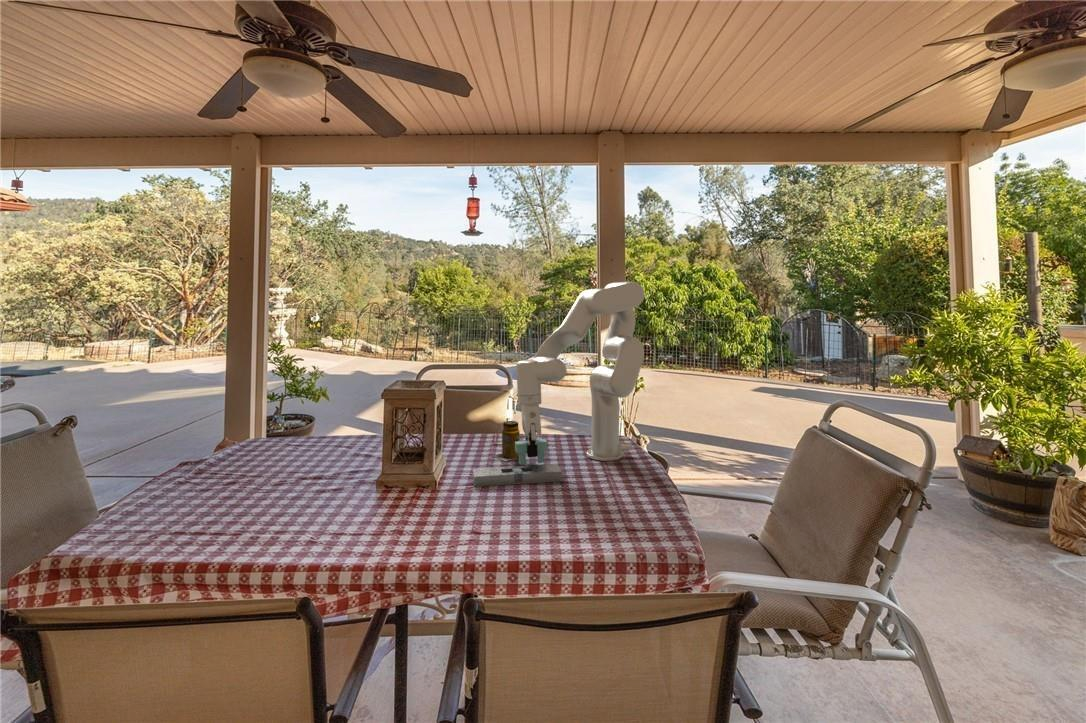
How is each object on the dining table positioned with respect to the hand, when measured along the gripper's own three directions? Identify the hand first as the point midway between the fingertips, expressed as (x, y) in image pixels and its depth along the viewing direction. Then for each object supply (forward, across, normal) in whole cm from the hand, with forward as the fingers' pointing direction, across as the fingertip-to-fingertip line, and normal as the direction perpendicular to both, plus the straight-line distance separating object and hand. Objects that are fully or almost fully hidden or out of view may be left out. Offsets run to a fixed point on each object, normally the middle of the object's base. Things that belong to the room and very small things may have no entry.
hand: (531, 454), depth 160 cm
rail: (+4, -10, +6) cm, 13 cm away
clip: (+3, 0, 0) cm, 3 cm away
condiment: (+5, +13, +6) cm, 15 cm away
